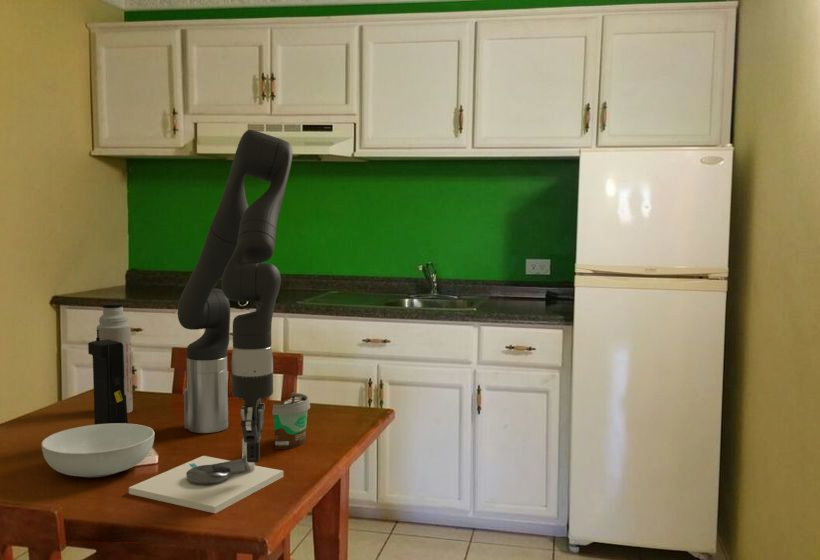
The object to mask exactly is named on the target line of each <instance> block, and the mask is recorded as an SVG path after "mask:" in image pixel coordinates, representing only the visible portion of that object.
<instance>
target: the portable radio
mask: <svg viewBox="0 0 820 560" xmlns="http://www.w3.org/2000/svg"><path fill="white" fill-rule="evenodd" d="M95 330H96V338H95V340H92V341H90V342H87V343H88V345H87V349H88V350H87V351H88V355H92V372H93V373H92V375H93V376H92V379H93V382H92V383H93V405H94V406H93V409H94V424H93V425H97V424H111V423H127V424H129V423H128V421H129V420H128V413H127V403H126V395H125V392H124V350H123V344H122V343H121V342H117V341H113V340H109V339H107V340H100V338H99V333H98V331H99V330H97V329H95Z"/></svg>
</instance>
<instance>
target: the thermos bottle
mask: <svg viewBox="0 0 820 560" xmlns="http://www.w3.org/2000/svg"><path fill="white" fill-rule="evenodd" d="M102 308H103V310H102V315H100V316H99V320H98V322H99V325H97V326H96V330H99V331H98V333H99V338H100V340H107V339H109V340H113V341H117V342H121V343H122V344H123V350H124V392H125V395H126V403H127V414H129V413H131V412H132V411H133V407H134V406H133V404H134V402H133V376H132V374H133V373H132V370H133V369H132V336H131V335H132V334H131V333H132V332H131V324H130V323H128V316H127V315H126V314H124V313H125V312H124V303H121V302H107V303H103V304H102Z"/></svg>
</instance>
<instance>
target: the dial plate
mask: <svg viewBox="0 0 820 560" xmlns="http://www.w3.org/2000/svg"><path fill="white" fill-rule="evenodd" d="M228 461H230V460H228V459H223V458H217V457H212V456H208V455H202V456H200V457H197V458H194V459H193V460H190V461H187V462H185V463H183V464H180V465H178V466H176V467H173V468H171V469H168V470H167V471H164V472H162V473H159V474H157V475H154V476H153V477H149V478H148V479H146V480H143V481H141V482H138V483H136V484H134V485H132V486H131V485H130V486H129V487H128V494H129V495H133V496H137V497H141V498H146V499H150V500H155V501H159V502H163V503H168V504H173V505H177V506H180V507H186V508H190V509H195V510H199V511H203V512H208V513H212V514H218V513H220V512H221V511H222V510H224V509H227V508H228V507H230V506H232V505H234V504H236V503H237V502H239V501H241V500H243V499H245V498H247V497H248V496H250V495H252V494H255V493H256V492H258V491H259V490H262V489H263V488H265V487H267V486H269V485H271V484H272V483H274V482H276V481H279V480H280V479H282V478H284V470H282V469H276V468H270V467H266V466H265V467H264V466H259V465H255V469H254V470H252V471H242V472H237V473H232V474H230V477H229V478H228V479H227V480H225V481H222V482H219V483H214V484H193V483H190V482H188V481H187V477H186V473H187V471H188V470H190V469H192V468H194V467H198V466H202V465H212V464H217V463H223V462H228Z"/></svg>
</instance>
